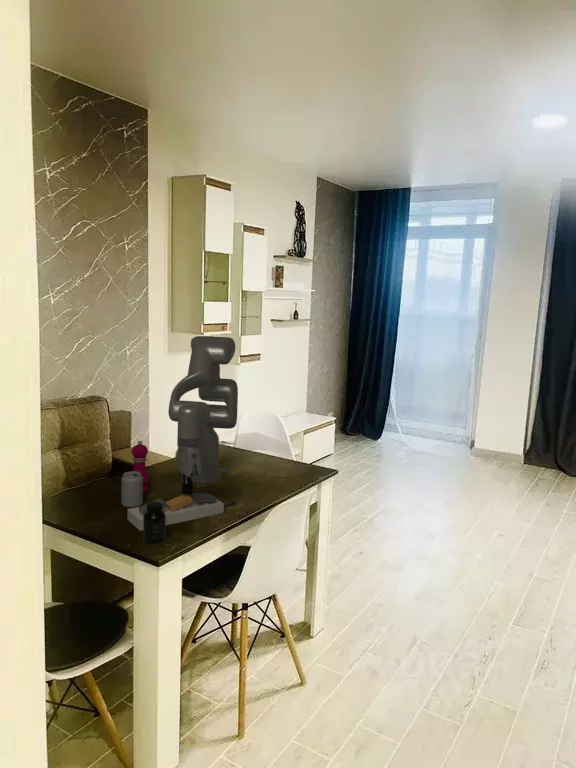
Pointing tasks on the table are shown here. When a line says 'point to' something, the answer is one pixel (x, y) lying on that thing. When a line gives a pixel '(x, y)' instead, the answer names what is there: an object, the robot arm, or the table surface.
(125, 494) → the can
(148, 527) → the supplement bottle
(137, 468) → the pepper mill
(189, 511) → the power strip
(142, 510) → the block
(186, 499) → the rocker
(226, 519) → the table surface
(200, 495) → the block
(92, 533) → the table surface
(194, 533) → the table surface
